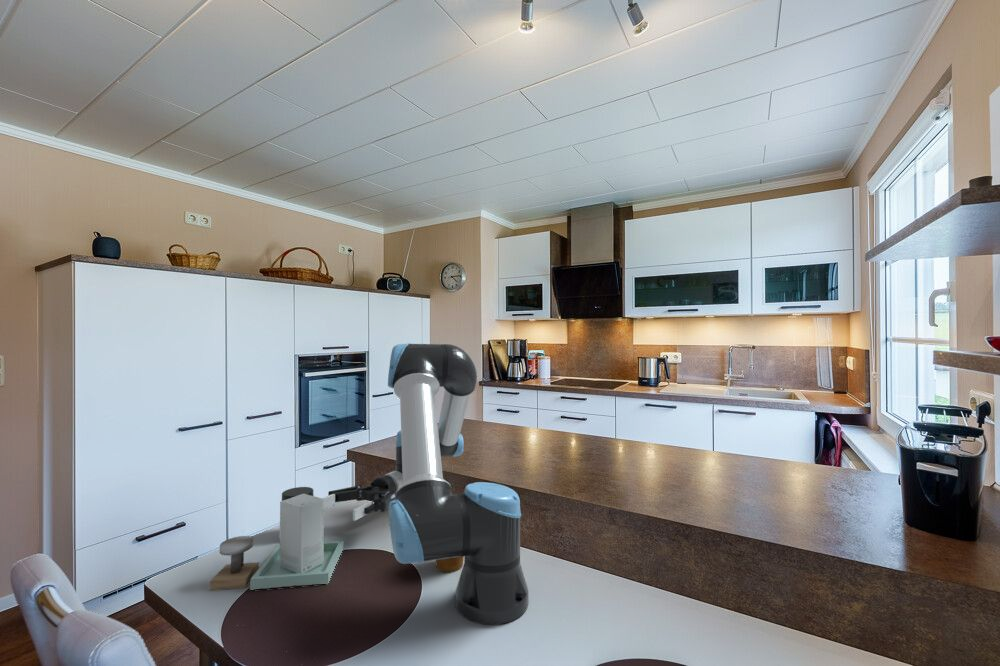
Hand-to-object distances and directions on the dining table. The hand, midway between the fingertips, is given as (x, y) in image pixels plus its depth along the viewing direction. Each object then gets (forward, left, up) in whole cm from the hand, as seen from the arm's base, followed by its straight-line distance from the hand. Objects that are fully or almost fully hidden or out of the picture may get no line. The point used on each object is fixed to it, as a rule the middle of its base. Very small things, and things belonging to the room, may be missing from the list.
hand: (333, 510), depth 107 cm
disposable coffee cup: (-12, -30, -11) cm, 34 cm away
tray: (-8, +5, -10) cm, 14 cm away
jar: (+12, +12, -11) cm, 20 cm away
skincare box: (-8, +5, -10) cm, 14 cm away
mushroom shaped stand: (-11, +18, -10) cm, 24 cm away
